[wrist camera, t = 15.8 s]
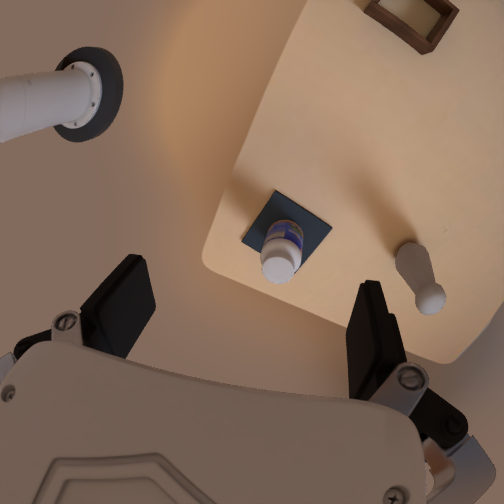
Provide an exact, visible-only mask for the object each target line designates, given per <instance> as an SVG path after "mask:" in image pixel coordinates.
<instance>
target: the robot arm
mask: <svg viewBox="0 0 504 504" xmlns="http://www.w3.org/2000/svg"><path fill="white" fill-rule="evenodd" d="M101 97H102V82H101V77H100V74H99V72H98V70H97V69H96V68H95V67H94V66H93V65H92V64H90V63H88V62H74V63H72V64H70V65H69V66H67V67H66V68H65V69H64V70H62V71H50V72H39V73H31V74H24V75H16V76H11V77H5V78H2V79H0V143H2V142H5V141H7V140H10V139H13V138H16V137H19V136H22V135H25V134H28V133H31V132H34V131H37V130H40V129H44V128H47V127H50V126H54V125H58V124H62V125H64V126H65V127H67V128H72V129H73V128H78V127H82V126H84V125H86V124H87V123H88V122H89V121H90V120H91V119H92V118H93V117H94V115H95V114H96V112H97V110H98V107H99V105H100V101H101ZM155 308H156V303H155V299H154V295H153V291H152V287H151V283H150V278H149V273H148V269H147V264H146V260H145V259H143V257H142V256H141V255H135V254H129V255H128V256H127V257H126V258H125V259H124V260H123V261H122V262H121V263H120V264H119V265H118V266H117V267H116V268H115V269H114V271H113V272H112V273H111V274H110V275H109V276H108V277H107V278H106V279H105V280H104V281H103V282H102V283H101V285H100V286H99V287H98V288H97V289H96V290H95V291H94V292H93V293H92V295H91V296H90V297H89V298H88V299H87V300H86V302H85V303H84V304H83V305H82V306H81V307H80V309H81V313H80V314H78V313H77V312H75V311H65V312H62V313H60V314H59V315H57V316H56V317H55V319H54V320H53V322H52V329H49V330H46V331H44V332H41V333H38V334H35V335H32V336H29V337H26V338H24V339H22V340H20V341H19V342H18V343H17V344H16V346H15V348H14V353H13V354H12V353H11V352H10V353H8V354H6V355H5V356H3V357H2V358H0V504H474V503H475V502H476V501H477V500H478V499H479V498H480V497H481V496H482V495H483V494H484V493H485V492H486V491H487V489H488V488H489V487H490V486H491V485H492V483H493V482H494V480H495V477H496V469H495V466H494V464H493V463H492V461H491V460H490V458H489V457H488V456H487V454H486V453H485V451H484V450H483V448H482V447H481V446H480V444H479V443H478V441H477V440H476V439H475V437H474V436H473V435H472V436H471V437H470V436H469V434H468V433H467V432H468V422H467V419H466V417H465V416H464V415H463V414H462V413H461V412H460V411H459V410H457V409H456V408H455V407H454V406H452V405H451V404H449V403H448V402H447V401H445V400H444V399H443V398H441V397H440V396H439V395H437V394H436V393H435V392H433V391H432V390H431V389H429V388H428V384H429V377H428V374H427V372H426V371H425V370H424V368H422V367H421V366H420V365H418V364H416V363H412V362H407V359H406V355H405V350H404V346H403V342H402V339H401V335H400V331H399V327H398V324H397V320H396V317H395V315H394V314H393V313H389V312H388V308H387V305H386V301H385V298H384V294H383V291H382V288H381V284H380V282H379V281H373V280H366V281H365V283H361V284H360V287H359V290H358V294H357V297H356V301H355V304H354V308H353V311H352V314H351V317H350V321H349V324H348V327H347V331H346V346H347V361H348V379H349V399H348V398H337V397H326V396H314V395H304V394H295V393H286V392H278V391H270V390H263V389H256V388H249V387H243V386H237V385H231V384H226V383H220V382H215V381H210V380H205V379H200V378H196V377H191V376H186V375H183V374H178V373H174V372H170V371H166V370H162V369H158V368H155V367H151V366H147V365H144V364H140V363H137V362H133V361H129V360H126V357H127V355H128V354H129V352H130V350H131V349H132V347H133V345H134V344H135V342H136V340H137V339H138V337H139V336H140V334H141V332H142V331H143V329H144V327H145V326H146V324H147V323H148V321H149V319H150V318H151V316H152V314H153V313H154V311H155ZM425 462H427V463H428V465H429V466H430V468H431V469H430V470H429V471H430V472H431V474H432V476H433V478H434V487H433V489H432V491H431V492H430V493H429V494H428V495H427V496H426V471H425ZM388 489H389V490H388Z"/></svg>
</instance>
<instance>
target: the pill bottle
mask: <svg viewBox="0 0 504 504" xmlns="http://www.w3.org/2000/svg"><path fill="white" fill-rule="evenodd" d="M302 247H303V232H302V230H301V228H300V227H299V226H298V225H297V224H296V223H295V222H293V221H290V220H280V221H277V222H275V223H274V224H272V225H271V227H270V228H269V230H268V233H267V236H266V239H265V242H264V245H263V248H262V251H261V254H260V260H261V264H262V273H263V275H264V277H265V278H266V279H267V280H269V281H270V282H272V283H276V284H281V283H285V282H288V281H289V280H290V279H291V278H292V277H293V274H294V272H296V271H297V269H298V268H299V266H300V264H301V258H302Z"/></svg>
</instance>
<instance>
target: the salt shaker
mask: <svg viewBox="0 0 504 504" xmlns="http://www.w3.org/2000/svg"><path fill="white" fill-rule="evenodd" d="M395 264H396V269H397V271H398V272H399V274H400V275H401V276H402V277H403V279H404V280H405V281H406V283H407V284H408V285H409V287H410V288H411V289H412V291H413V292H414V293H415V295H416V296H415V304H416V307H417V308H418V310H419V311H420V313H422V314H424V315H432V314H435V313H437V312H438V311H439V310H441V309H442V308H443V306H444V304H445V302H446V294H445V292H444V290H443V288H442V286H441V285H439V284H437V283H436V282H435V277H434V273H433V269H432V265H431V261H430V257H429V253H428V252H427V250H426V248H425V247H424V246H422V245H420V244H417V243H410V242H407V243H405V244H404V245H403V246H401V247H400V248H398V254H397V256H396V259H395Z"/></svg>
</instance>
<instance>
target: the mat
mask: <svg viewBox="0 0 504 504" xmlns="http://www.w3.org/2000/svg"><path fill="white" fill-rule="evenodd" d="M280 220H290V221H293V222H295V223H296V224H297V225H298V226H299V227H300V228H301V230H302V232H303V247H302V258H301V264H300V266H299V268H300V267H301V266H302V264H303V263H304V262H305V261H306V260H307V259H308V257H309V256H310V255H311V254H312V253H313V251H314V250H315V249H316V248H317V247H318V245H319V244H320V243H321V242H322V240H323V239H324V238H325V237H326V236H327V234H328V233H329V232H330V231H331V229H332V227H331V226H329V225H328V224H327V223H325V222H324V221H322V220H321V219H319V218H318V217H316V216H315V215H313V214H312V213H310V212H309V211H307V210H306V209H304V208H303V207H301V206H299V205H298V204H296V203H295V202H293V201H292V200H290V199H289V198H287V197H286V196H284V195H282V194H281V193H279V192H278V191H276V190H275V192H274V193H273V195H272V196H271V198H270V199H269V201H268V202H267V204H266V205H265V207H264V208H263V210H262V211H261V213H260V214H259V216H258V217H257V219H256V220H255V222H254V223H253V225H252V226H251V228H250V229H249V231H248V232H247V234H246V235H245V237H244V238H243V240H242V242H243V243H244V244H246V245H248V246H249V247H251V248H253V249H254V250H256V251H257V252H259V253H261V251H262V248H263V245H264V242H265V239H266V236H267V233H268V230H269V228H270V227H271V225H272V224H274V223H275V222H277V221H280ZM299 268H298V269H299ZM298 269H297V270H298ZM296 272H297V271H296ZM296 272H294V274H295V273H296Z"/></svg>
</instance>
